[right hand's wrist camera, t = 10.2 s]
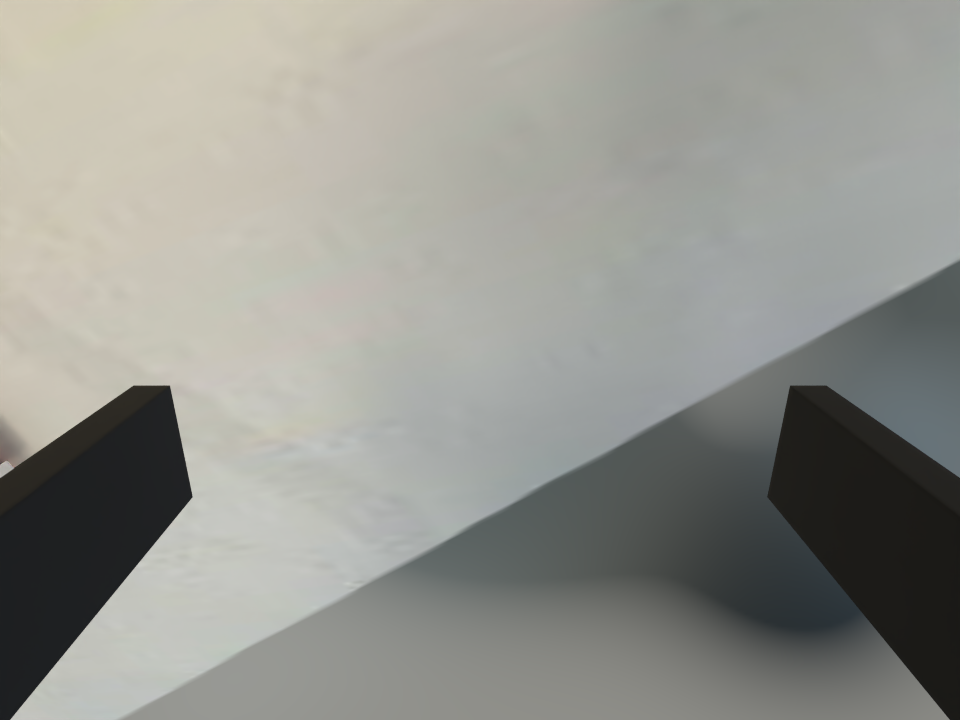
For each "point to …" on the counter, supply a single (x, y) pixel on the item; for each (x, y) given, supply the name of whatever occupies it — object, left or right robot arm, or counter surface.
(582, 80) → the counter surface
